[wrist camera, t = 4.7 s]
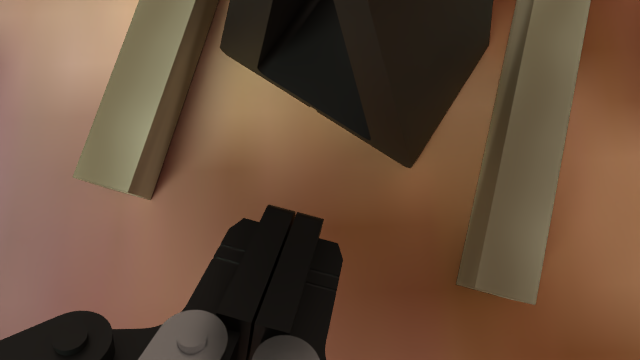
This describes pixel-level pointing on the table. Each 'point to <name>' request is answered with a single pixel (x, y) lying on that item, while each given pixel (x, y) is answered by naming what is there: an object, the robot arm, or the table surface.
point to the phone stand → (365, 60)
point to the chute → (499, 156)
